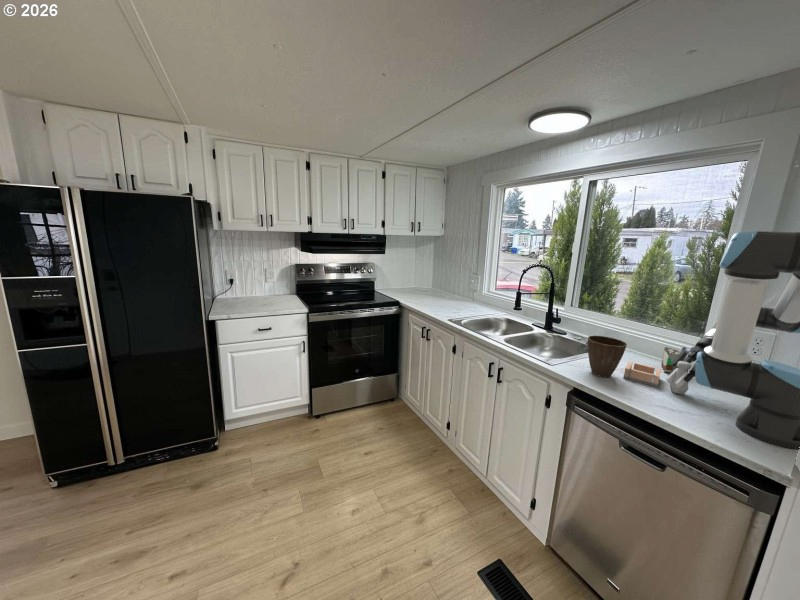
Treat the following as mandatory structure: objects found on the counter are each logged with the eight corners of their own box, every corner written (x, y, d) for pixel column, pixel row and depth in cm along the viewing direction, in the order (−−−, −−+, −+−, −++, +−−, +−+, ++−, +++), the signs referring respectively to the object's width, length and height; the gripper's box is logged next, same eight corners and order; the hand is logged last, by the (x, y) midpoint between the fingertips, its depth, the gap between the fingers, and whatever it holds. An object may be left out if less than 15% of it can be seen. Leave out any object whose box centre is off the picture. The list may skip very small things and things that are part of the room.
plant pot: (575, 366, 153) (580, 334, 150) (605, 367, 154) (611, 335, 150) (595, 380, 138) (601, 345, 135) (628, 381, 139) (635, 346, 136)
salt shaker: (665, 390, 132) (672, 360, 129) (672, 387, 134) (679, 358, 132) (682, 396, 127) (690, 366, 124) (689, 394, 129) (697, 363, 127)
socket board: (657, 387, 135) (659, 376, 134) (623, 378, 142) (625, 368, 142) (659, 378, 144) (661, 368, 143) (627, 370, 151) (629, 361, 150)
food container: (681, 377, 146) (686, 356, 144) (664, 373, 150) (669, 353, 148) (676, 368, 157) (680, 349, 155) (660, 365, 160) (664, 346, 158)
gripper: (740, 356, 123) (698, 398, 122) (694, 342, 138) (656, 380, 138) (734, 343, 121) (690, 386, 120) (688, 330, 136) (649, 369, 135)
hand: (672, 383), depth 129 cm, fingers closed on salt shaker, 3 cm apart
